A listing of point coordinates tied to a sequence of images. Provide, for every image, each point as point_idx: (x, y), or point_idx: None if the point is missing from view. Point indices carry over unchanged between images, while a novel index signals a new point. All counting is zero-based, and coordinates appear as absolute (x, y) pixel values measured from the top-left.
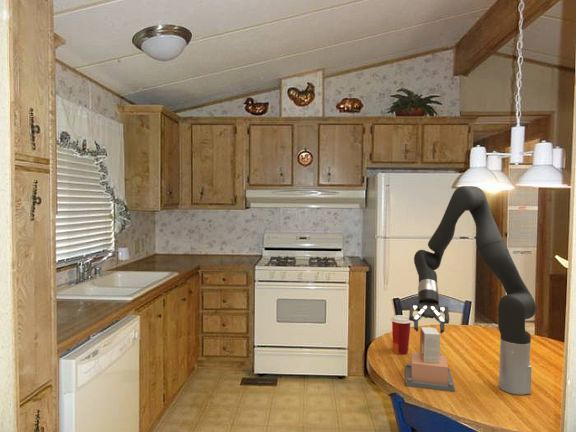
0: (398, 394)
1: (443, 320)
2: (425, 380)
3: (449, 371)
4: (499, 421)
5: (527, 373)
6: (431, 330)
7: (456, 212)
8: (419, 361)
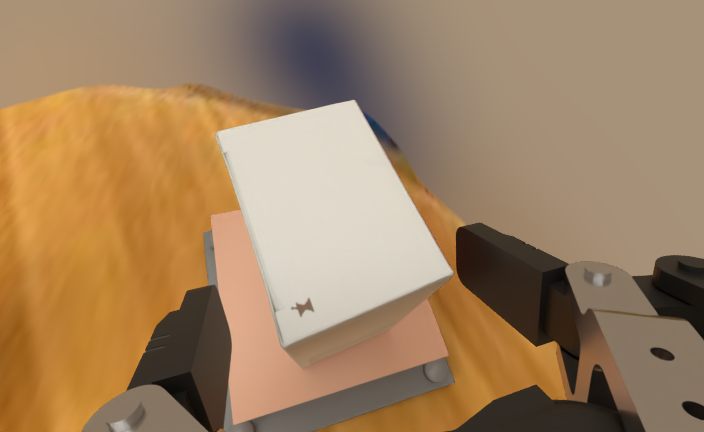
0: (382, 141)
1: (109, 417)
2: None
3: (226, 424)
4: (83, 109)
5: None
6: (313, 201)
7: None
8: None
